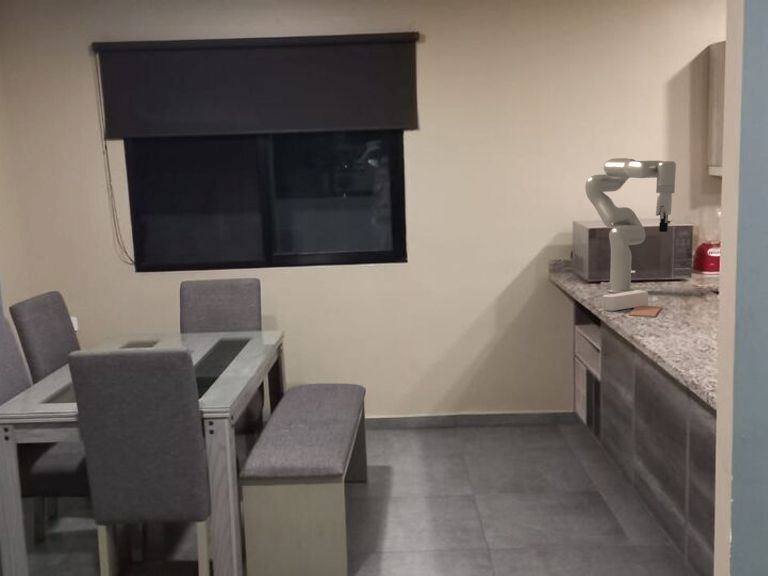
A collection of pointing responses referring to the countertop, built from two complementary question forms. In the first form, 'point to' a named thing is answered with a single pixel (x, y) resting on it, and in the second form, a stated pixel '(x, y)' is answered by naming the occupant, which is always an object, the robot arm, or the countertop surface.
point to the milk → (624, 300)
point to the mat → (645, 311)
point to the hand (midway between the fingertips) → (663, 231)
